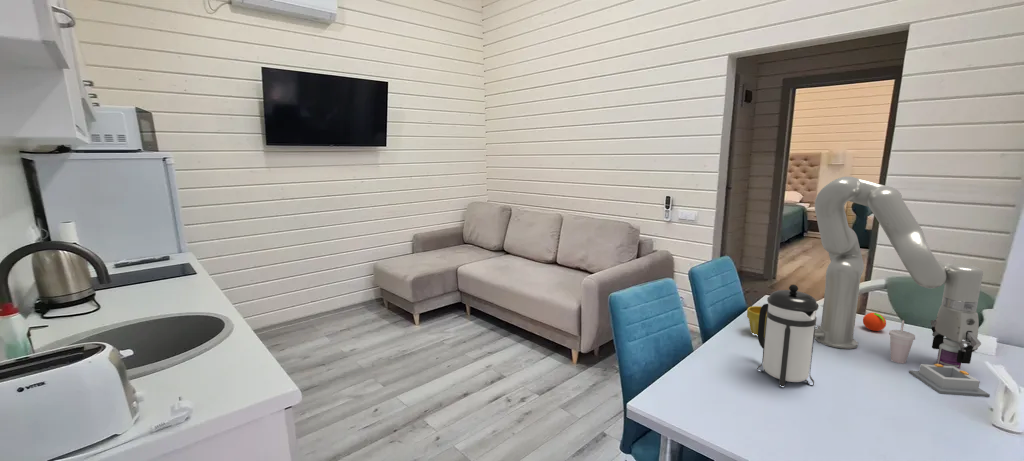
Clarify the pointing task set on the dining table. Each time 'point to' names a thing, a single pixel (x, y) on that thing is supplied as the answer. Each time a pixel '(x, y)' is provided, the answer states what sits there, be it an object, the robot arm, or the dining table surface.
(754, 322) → the plant pot
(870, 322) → the clementine
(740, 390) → the dining table surface
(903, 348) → the smoothie
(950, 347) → the pill bottle
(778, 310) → the coffee press
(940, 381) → the socket
